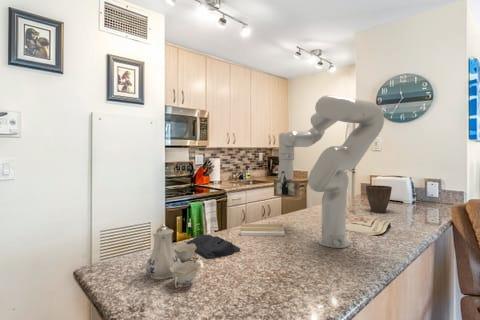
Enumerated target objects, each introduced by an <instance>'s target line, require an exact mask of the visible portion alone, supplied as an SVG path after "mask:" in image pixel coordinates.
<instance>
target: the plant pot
mask: <svg viewBox="0 0 480 320" xmlns="http://www.w3.org/2000/svg"><path fill="white" fill-rule="evenodd" d="M392 189H393V187H392V186H390V185H389V186H388V185H376V184H375V185H374V184H373V185H372V184H371V185H365V192H366V193H365V194H366V197H367V200H368V205H369V207H370V210H371V212H372V213H375V212H376V214H384V213H386V211H387V208H388V206H389V203H390V201H391V200H390V199H391V196H392Z"/></svg>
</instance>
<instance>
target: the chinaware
mask: <svg viewBox="0 0 480 320" xmlns="http://www.w3.org/2000/svg"><path fill="white" fill-rule="evenodd" d="M173 233H174V230H173V229H171V228H169V227H167V226H166V225H165V223H164V222H162V223H161V224H160V226H159V227H158V228H157V229H156V230H152V233H151V234H152V236H153V248H152V251H151V254H150V257H149V259H147V261H146V263H145V265H144V269H145V270H146V271H147V272H148V273H149V278H151V279H153V280H156V281H157V280H167V279H171V278H172V279H173V280H174V286H175V289H176V288H186V287H188V286H191V284H190V283H191V282H192V281H193V280H194V279H195V278H196V276H197V272H198V270H199V268H200V266H201V265H200V264H199V263H195V262H194V261H191V259H192V258H193V257H194V255H195V249H197V247H196V245H195V244H193V243H191V244H189V245H188V244H186V243H187V242H182V243H179V244H177V245H173Z"/></svg>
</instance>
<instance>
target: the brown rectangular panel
mask: <svg viewBox="0 0 480 320" xmlns="http://www.w3.org/2000/svg"><path fill="white" fill-rule="evenodd" d="M281 185H282V184H281V180H279V179H278V178H277V179H274V180H273V196H274V197H285V198H295V199H297V198H299V197H300V193H301V192H300V191H301V189H300V186H301V185H300V180H299V179H298V180H297V179H292V180H288V186H287V187H288V195H282V186H281Z"/></svg>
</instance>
